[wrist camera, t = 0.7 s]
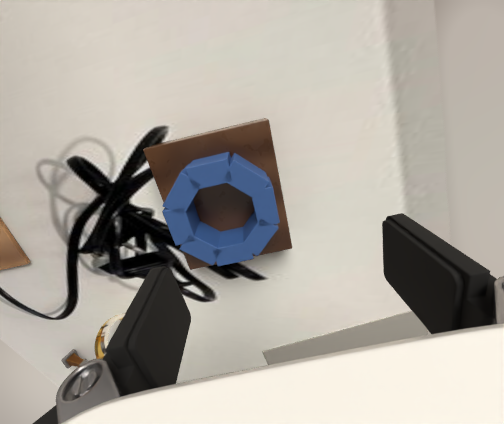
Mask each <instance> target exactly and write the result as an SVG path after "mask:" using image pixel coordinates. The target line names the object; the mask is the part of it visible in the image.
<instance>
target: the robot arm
mask: <svg viewBox="0 0 504 424" xmlns="http://www.w3.org/2000/svg"><path fill="white" fill-rule="evenodd" d="M382 227H383V263H384V276H385V278H386V280H387V281H388V282H389V284H390V285H391V286H392V287H393V288H394V290H395V291H396V292H397V293H398V294H399V296H400V297H401V298H402V299H403V300H404V302H405V303H406V304H407V305H408V306H409V308H410V309H411V310H412V311H413V312H414V314H415V315H416V316H417V317H418V318H419V320H420V321H421V322H422V323H423V324H424V326H425V327H426V328H427V329H428V330H429V332H430V333H431V335H425V336H419V337H414V338H408V339H403V340H398V341H392V342H387V343H382V344H376V345H371V346H366V347H360V348H355V349H350V350H344V351H339V352H334V353H329V354H324V355H318V356H313V357H308V358H303V359H298V360H292V361H287V362H282V363H277V364H272V365H267V366H262V367H256V368H251V369H246V370H241V371H236V372H231V373H226V374H221V375H216V376H211V377H206V378H201V379H196V380H191V381H187V382H182V383H177V384H176V381H177V376H178V372H179V368H180V364H181V360H182V356H183V351H184V347H185V343H186V339H187V335H188V331H189V326H190V322H191V315H190V312H189V310H188V307H187V305H186V303H185V300H184V298H183V296H182V294H181V291H180V289H179V287H178V284H177V282H176V280H175V278H174V275H173V273H172V271H171V269H169V268H168V269H167V268H166V267H165V266H162V267H157V268H153V269H151V270H150V271H149V273H148V275H147V276H146V278H145V280H144V282H143V283H142V285H141V287H140V289H139V291H138V292H137V294H136V296H135V298H134V299H133V301H132V303H131V305H130V307H129V308H128V310H127V312H126V314H125V315H124V317H123V319H122V321H121V322H120V324H119V326H118V328H117V330H116V331H115V333H114V335H113V337H112V338H111V340H110V342H109V344H108V345H107V347H106V349H105V351H106V354H105V356H104V358H103V359H93V360H91V361H88V362H86V363H84V364H83V365H81V366H79V367H78V368H77V369H76V370H74V371H73V372H72V373H71V374H70V375H69V376H68V377H67V378H66V379H65V380H64V382H63V383H62V385H61V386H60V388H59V390H58V392H57V395H56V406H54V407H53V408H52V409H51V410H49V411H48V412H47V413H46V414H45V415H43V416H42V417H41V418H39V419H38V420H37V421H36V422H34V423H33V424H504V276H503V277H499V278H498V279H496V278H495V277H493V276H491V275H490V271H489V270H487V269H486V268H485V267H483V266H482V265H480V264H479V263H477V262H475V261H474V260H473V259H471V258H469V257H468V256H466V255H464V254H463V253H462V252H460V251H459V250H457V249H456V248H454V247H452V246H451V245H450V244H448V243H447V242H445V241H444V240H442V239H441V238H439V237H438V236H436V235H435V234H433V233H432V232H430V231H429V230H427V229H426V228H424V227H423V226H421V225H420V224H418V223H417V222H415V221H414V220H412V219H411V218H409V217H407V216H406V215H404V214H397V215H392V216H388V217H387V218H386V220H385V221H383V224H382Z"/></svg>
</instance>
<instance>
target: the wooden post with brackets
mask: <svg viewBox="0 0 504 424" xmlns="http://www.w3.org/2000/svg"><path fill="white" fill-rule="evenodd" d="M61 361H62V362H63V363H64V365H65V366H66V368H70V367H71V366H77V367H79V366H81V365H83V364H84V363H86V362H88V360H86V359H85V360H84V359H81V358H80V357H79V356H78V354H77V353H76V351H75V350H74V349H73V350H72V351H71V352H70V353H69V354H67V355H66V356H65V357H64V358H63V359H62V360H61Z"/></svg>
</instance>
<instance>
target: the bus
mask: <svg viewBox="0 0 504 424" xmlns="http://www.w3.org/2000/svg"><path fill="white" fill-rule="evenodd" d="M425 335H428V333H427V328H426V327H425V326H424V324H423V323H422V322H421V321H420V320H419V318H418V317H417V316H416V315H415V314H414V312H413V311H408V312H405V313H401V314H397V315H394V316H390V317H386V318H383V319H379V320H375V321H372V322H368V323H364V324H361V325H357V326H354V327H350V328H346V329H343V330H339V331H335V332H332V333H328V334H324V335H321V336H317V337H313V338H310V339H306V340H302V341H299V342H295V343H292V344H288V345H284V346H281V347H277V348H273V349H270V350H266V351H262V353H263V355H264V357H265V359H266V361H267V363H268V365H272V364H277V363H282V362H287V361H292V360H298V359H303V358H308V357H313V356H318V355H324V354H329V353H334V352H339V351H344V350H350V349H355V348H360V347H366V346H371V345H376V344H382V343H387V342H392V341H398V340H403V339H408V338H414V337H419V336H425Z"/></svg>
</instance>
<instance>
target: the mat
mask: <svg viewBox="0 0 504 424" xmlns="http://www.w3.org/2000/svg"><path fill="white" fill-rule="evenodd" d="M29 263H30V260H29V259H28V257H27V256H26V255H25V253H24V252H23V250H22V249H21V247H20V246H19V244H18V243H17V241H16V240H15V239H14V237H13V236H12V234H11V233H10V231H9V230H8V228H7V227H6V225H5V224H4V223H3V221H2V220H1V218H0V270H3V269H8V268H12V267H17V266H21V265H26V264H29Z"/></svg>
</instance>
